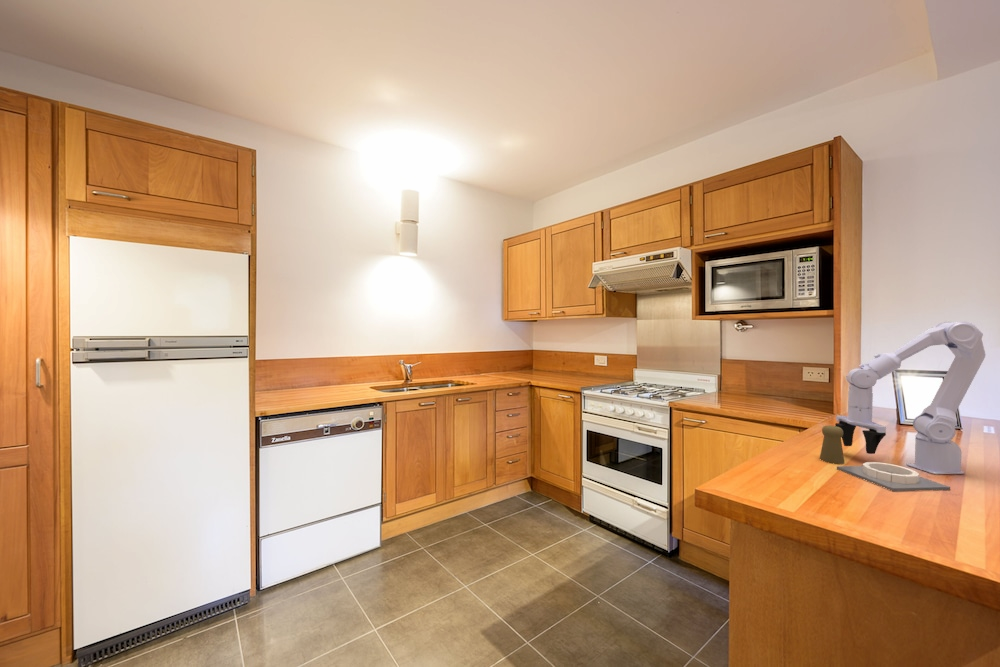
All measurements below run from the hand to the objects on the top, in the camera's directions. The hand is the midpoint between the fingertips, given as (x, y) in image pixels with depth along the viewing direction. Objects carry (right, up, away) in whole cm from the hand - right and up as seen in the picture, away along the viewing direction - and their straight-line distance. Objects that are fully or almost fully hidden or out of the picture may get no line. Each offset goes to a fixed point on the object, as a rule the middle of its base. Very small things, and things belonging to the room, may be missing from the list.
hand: (858, 449), depth 127 cm
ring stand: (-5, -4, -15) cm, 17 cm away
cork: (-9, -4, -1) cm, 10 cm away
